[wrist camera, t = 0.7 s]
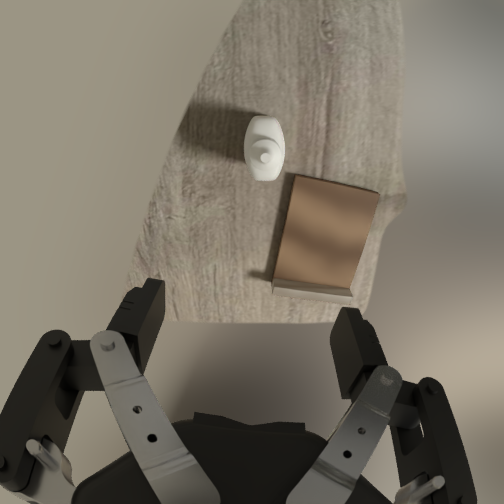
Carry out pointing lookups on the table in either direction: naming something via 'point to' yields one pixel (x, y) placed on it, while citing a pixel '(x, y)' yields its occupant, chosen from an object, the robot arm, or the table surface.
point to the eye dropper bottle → (264, 148)
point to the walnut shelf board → (322, 240)
